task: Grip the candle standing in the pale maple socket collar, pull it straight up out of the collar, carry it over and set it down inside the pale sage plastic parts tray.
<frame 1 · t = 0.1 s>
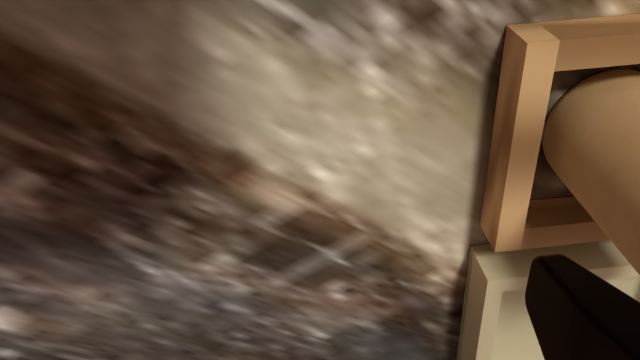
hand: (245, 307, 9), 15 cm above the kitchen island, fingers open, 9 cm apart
candle: (598, 123, 25), resting in socket collar
parts tray: (554, 308, 31), on the kitchen island
socket collar: (601, 125, 25), on the kitchen island
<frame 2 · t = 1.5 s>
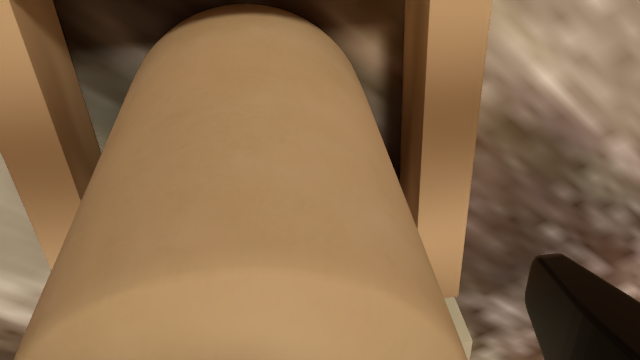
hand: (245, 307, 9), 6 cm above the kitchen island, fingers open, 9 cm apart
candle: (249, 110, 14), resting in socket collar
socket collar: (249, 114, 14), on the kitchen island
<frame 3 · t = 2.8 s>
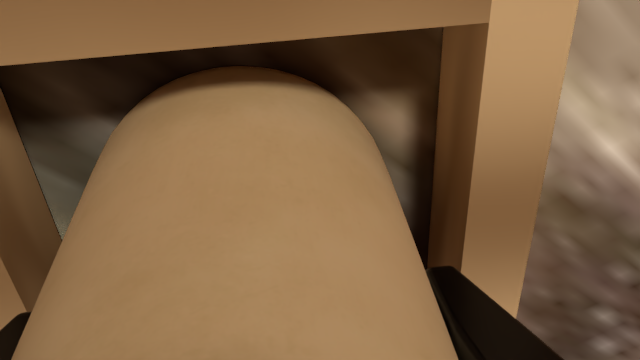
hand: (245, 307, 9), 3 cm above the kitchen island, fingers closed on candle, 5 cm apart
candle: (245, 188, 11), resting in socket collar, touching gripper
socket collar: (245, 194, 11), on the kitchen island
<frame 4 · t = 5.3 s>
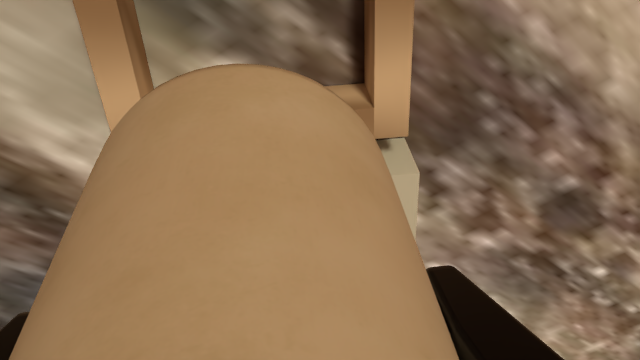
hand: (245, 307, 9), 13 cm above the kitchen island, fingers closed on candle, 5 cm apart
candle: (246, 186, 11), point 9 cm above the kitchen island, touching gripper
parts tray: (280, 253, 25), on the kitchen island
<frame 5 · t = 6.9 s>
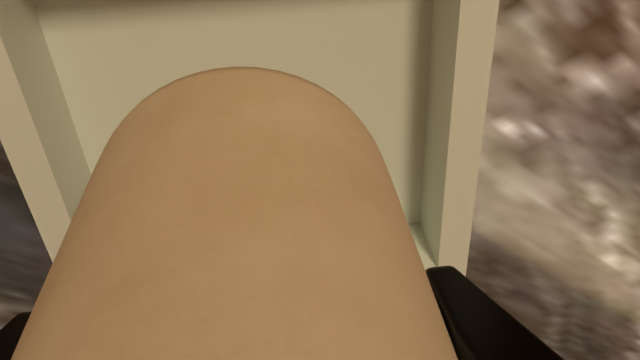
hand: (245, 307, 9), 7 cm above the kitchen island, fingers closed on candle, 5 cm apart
candle: (246, 188, 11), point 4 cm above the kitchen island, touching gripper
parts tray: (252, 93, 15), on the kitchen island
when the fingers open (5 cm above the kitchen island, at t = 8.2 s): candle drops 1 cm, resting on parts tray.
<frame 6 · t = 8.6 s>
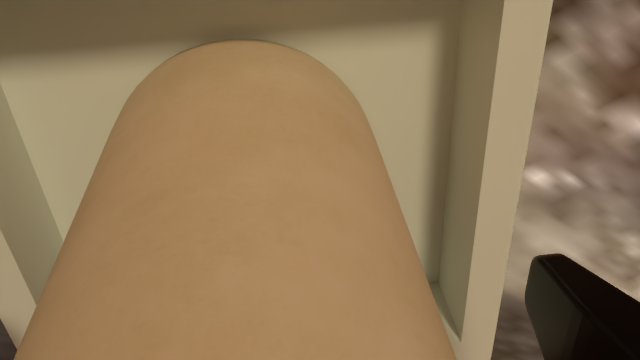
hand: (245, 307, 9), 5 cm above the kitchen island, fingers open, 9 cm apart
candle: (246, 152, 13), resting on parts tray
parts tray: (248, 143, 13), on the kitchen island
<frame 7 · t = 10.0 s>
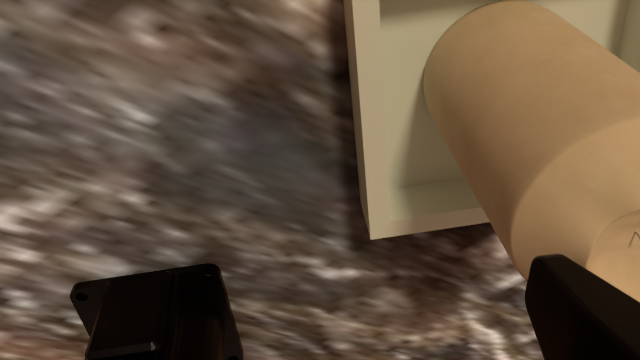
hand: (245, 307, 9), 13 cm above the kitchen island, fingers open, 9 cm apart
candle: (493, 71, 21), resting on parts tray
parts tray: (491, 66, 21), on the kitchen island
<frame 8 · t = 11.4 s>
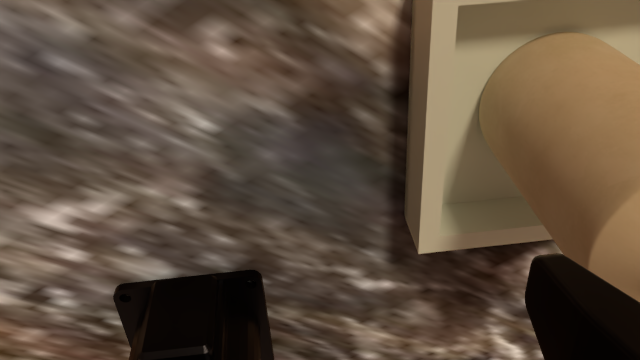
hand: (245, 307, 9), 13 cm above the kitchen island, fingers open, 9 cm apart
candle: (545, 97, 22), resting on parts tray
parts tray: (543, 93, 22), on the kitchen island
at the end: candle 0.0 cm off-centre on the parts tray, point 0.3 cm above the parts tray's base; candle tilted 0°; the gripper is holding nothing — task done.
